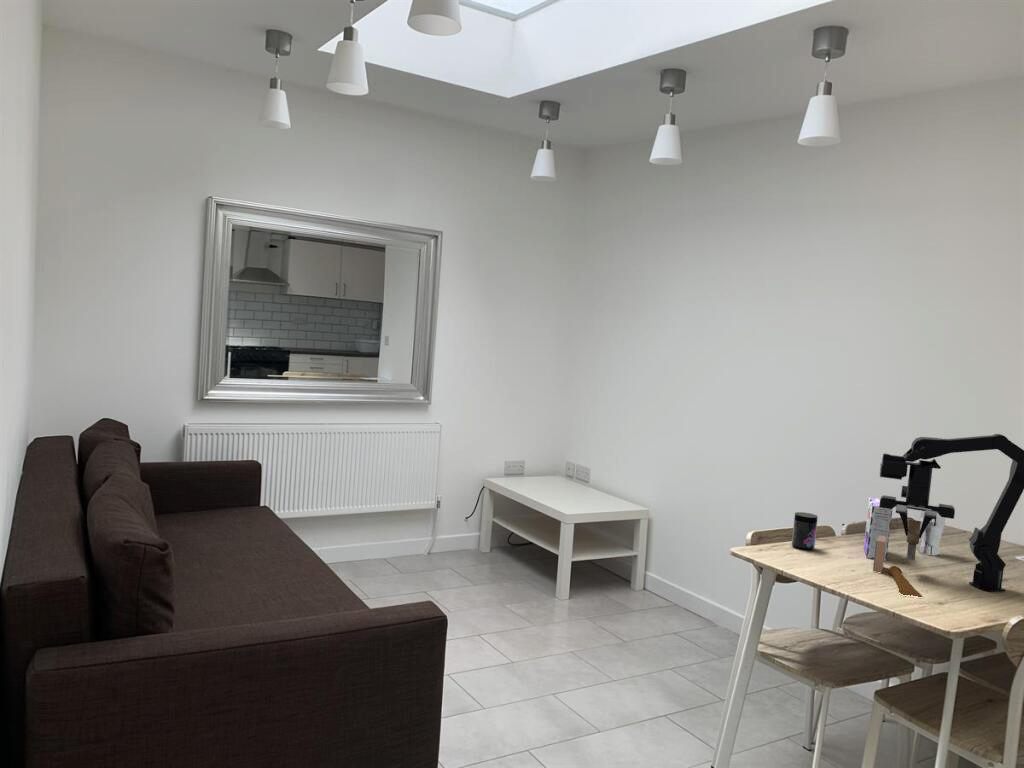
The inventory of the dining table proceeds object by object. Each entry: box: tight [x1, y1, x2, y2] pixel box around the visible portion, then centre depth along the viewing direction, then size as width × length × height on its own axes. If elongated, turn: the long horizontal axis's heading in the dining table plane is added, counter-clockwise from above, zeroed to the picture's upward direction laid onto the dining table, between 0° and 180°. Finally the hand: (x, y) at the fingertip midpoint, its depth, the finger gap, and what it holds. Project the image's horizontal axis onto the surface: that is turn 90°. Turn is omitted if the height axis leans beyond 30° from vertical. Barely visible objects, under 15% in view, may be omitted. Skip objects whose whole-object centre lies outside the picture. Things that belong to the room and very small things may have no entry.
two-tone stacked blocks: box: [906, 519, 921, 561], centre depth 228 cm, size 3×9×10 cm, turn 153°
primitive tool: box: [887, 565, 923, 597], centre depth 217 cm, size 19×6×4 cm, turn 171°
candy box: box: [863, 496, 894, 562], centre depth 248 cm, size 14×6×16 cm, turn 160°
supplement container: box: [791, 511, 819, 552], centre depth 249 cm, size 7×7×10 cm
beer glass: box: [917, 503, 946, 557], centre depth 255 cm, size 7×7×15 cm
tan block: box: [872, 535, 886, 574], centre depth 232 cm, size 2×8×9 cm, turn 153°
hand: (913, 536), depth 228 cm, fingers closed on two-tone stacked blocks, 3 cm apart
